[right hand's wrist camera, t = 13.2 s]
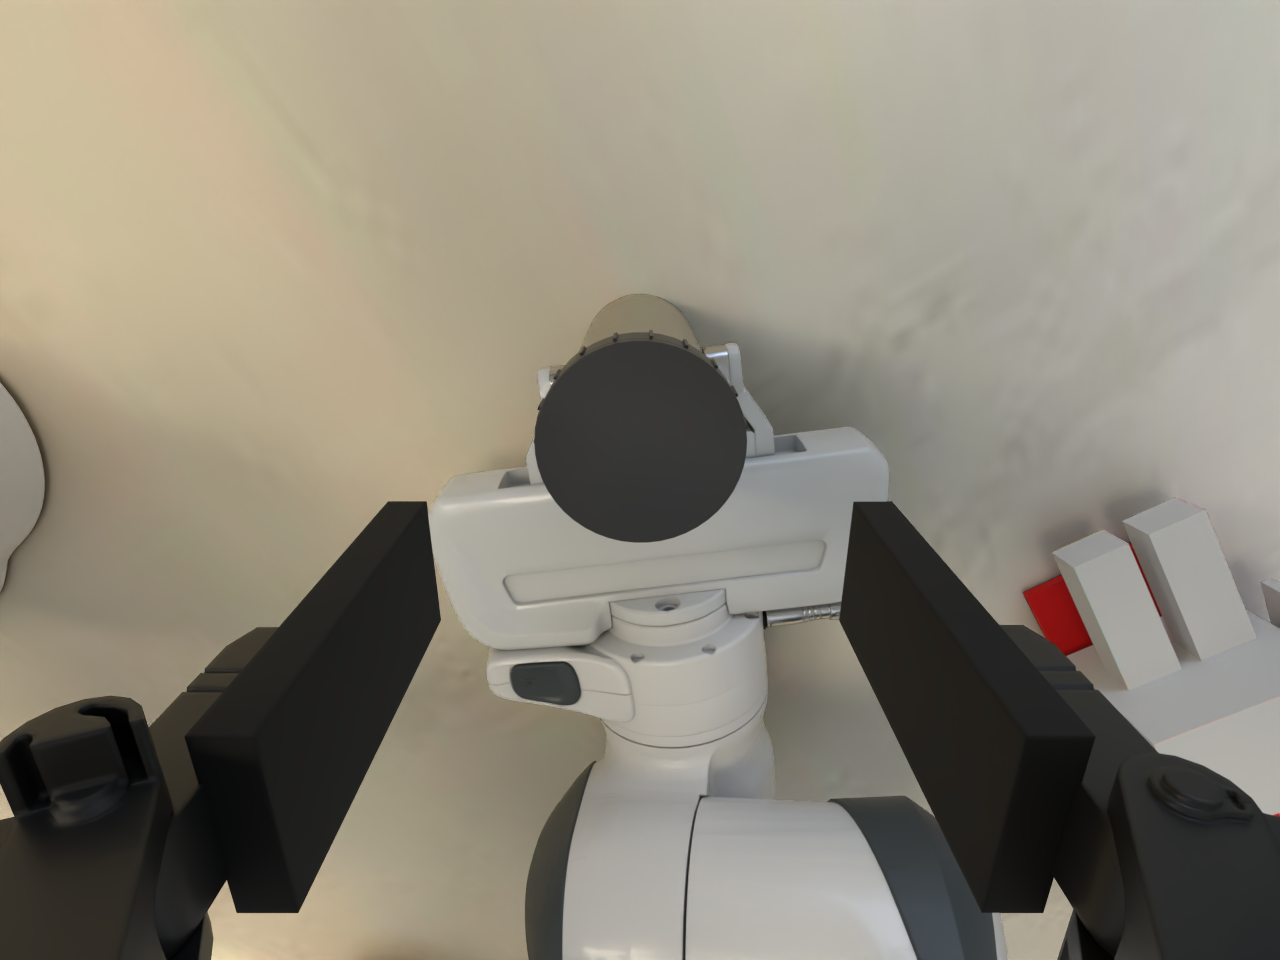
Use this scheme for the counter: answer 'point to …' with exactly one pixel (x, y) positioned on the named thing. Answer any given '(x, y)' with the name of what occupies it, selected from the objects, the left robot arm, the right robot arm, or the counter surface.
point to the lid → (640, 437)
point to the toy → (1173, 642)
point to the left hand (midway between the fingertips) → (636, 357)
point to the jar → (640, 319)
